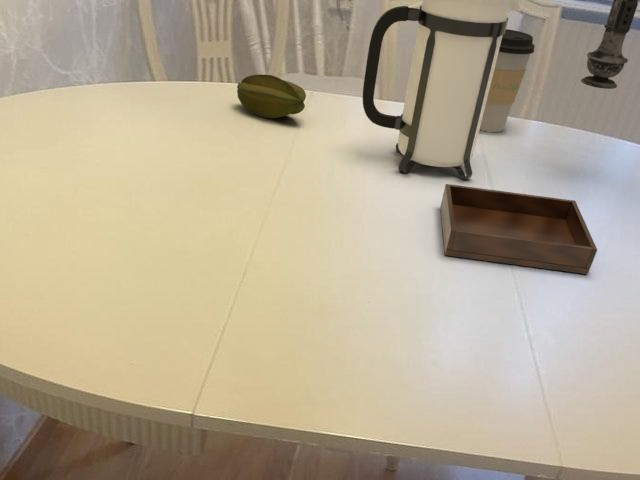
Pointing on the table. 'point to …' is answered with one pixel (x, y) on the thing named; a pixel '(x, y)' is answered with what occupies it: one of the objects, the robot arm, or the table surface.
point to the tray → (515, 229)
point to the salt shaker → (606, 56)
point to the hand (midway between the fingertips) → (616, 28)
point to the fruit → (270, 96)
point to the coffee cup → (506, 78)
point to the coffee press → (442, 79)
